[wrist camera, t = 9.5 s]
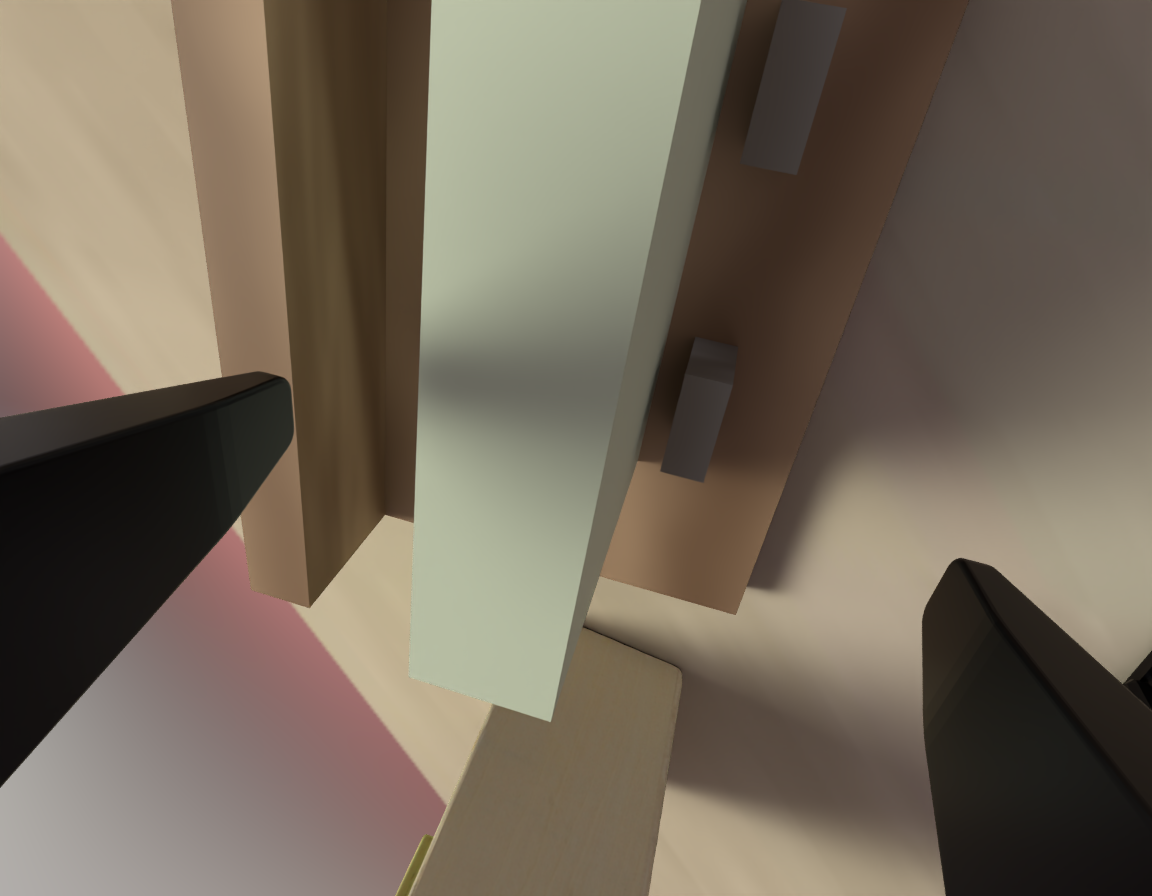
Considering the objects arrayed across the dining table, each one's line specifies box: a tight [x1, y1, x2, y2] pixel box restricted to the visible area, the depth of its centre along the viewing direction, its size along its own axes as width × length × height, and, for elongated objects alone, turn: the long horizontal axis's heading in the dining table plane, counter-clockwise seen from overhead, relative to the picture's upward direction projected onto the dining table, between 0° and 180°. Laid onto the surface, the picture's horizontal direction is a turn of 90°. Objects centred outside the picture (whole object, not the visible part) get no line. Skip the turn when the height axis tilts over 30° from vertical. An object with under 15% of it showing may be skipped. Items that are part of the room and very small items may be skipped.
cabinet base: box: [171, 0, 969, 615], centre depth 18 cm, size 16×24×6 cm, turn 172°
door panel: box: [409, 0, 747, 722], centre depth 15 cm, size 3×14×10 cm, turn 172°
